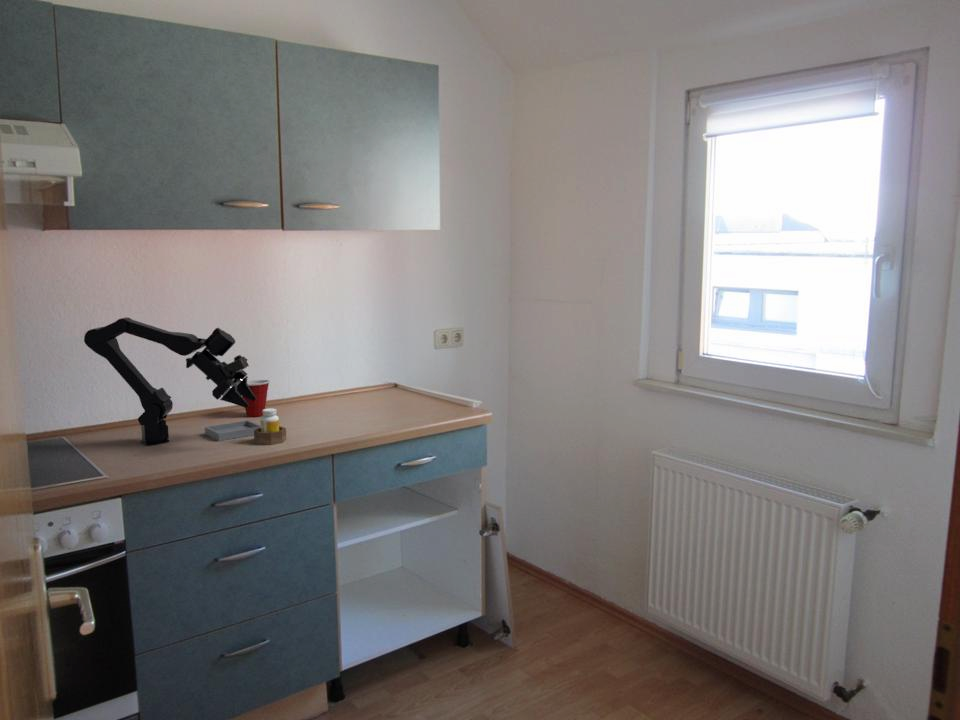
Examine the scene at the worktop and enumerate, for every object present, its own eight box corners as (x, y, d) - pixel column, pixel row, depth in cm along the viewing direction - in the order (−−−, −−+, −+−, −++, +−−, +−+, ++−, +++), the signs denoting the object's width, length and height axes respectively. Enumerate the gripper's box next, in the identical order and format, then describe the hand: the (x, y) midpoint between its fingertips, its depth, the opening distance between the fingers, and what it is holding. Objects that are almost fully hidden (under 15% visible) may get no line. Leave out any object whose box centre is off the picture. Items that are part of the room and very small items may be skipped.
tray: (219, 441, 229) (218, 433, 229) (205, 434, 238) (204, 426, 237) (262, 433, 238) (262, 426, 238) (247, 427, 247) (247, 420, 246)
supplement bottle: (257, 442, 228) (256, 411, 227) (267, 438, 233) (266, 407, 232) (273, 443, 227) (272, 412, 225) (283, 439, 232) (281, 408, 230)
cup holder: (263, 446, 224) (262, 434, 223) (250, 440, 230) (250, 429, 230) (290, 441, 230) (289, 429, 229) (277, 435, 236) (276, 424, 235)
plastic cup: (255, 410, 271) (254, 377, 269) (278, 414, 265) (276, 380, 263) (231, 416, 261) (230, 382, 260) (254, 420, 256) (252, 385, 254)
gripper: (221, 352, 216) (262, 390, 218) (238, 343, 234) (276, 378, 236) (194, 380, 217) (236, 417, 219) (214, 369, 235) (252, 403, 237)
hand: (251, 403), depth 228 cm, fingers open, 9 cm apart
